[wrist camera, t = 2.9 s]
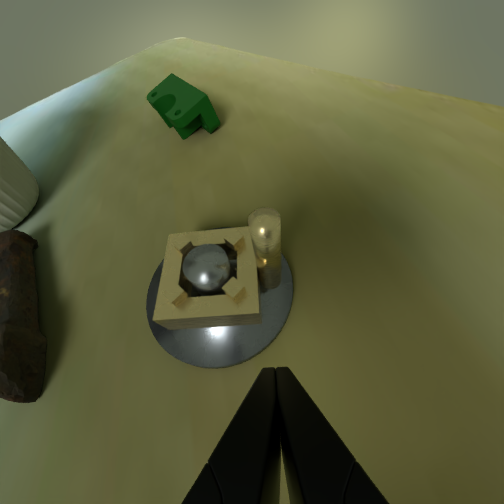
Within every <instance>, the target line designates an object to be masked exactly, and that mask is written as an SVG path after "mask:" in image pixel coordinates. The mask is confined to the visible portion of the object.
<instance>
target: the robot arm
mask: <svg viewBox="0 0 504 504" xmlns="http://www.w3.org/2000/svg"><path fill="white" fill-rule="evenodd" d="M280 438H281V440H280ZM281 449H282V457H283V463H284V469H285V475H286V481H287V487H288V493H289V499H290V504H389V503H388V501H387V500H386V499H385V497H384V496H383V495H382V493H381V492H380V491H379V490H378V488H377V487H376V486H375V484H374V483H373V482H372V480H371V479H370V478H369V476H368V475H367V474H366V472H365V471H364V470H363V468H362V467H361V465H360V464H359V463H358V462H356V459H355V458H354V456H353V455H352V453H351V452H350V451H349V449H348V448H347V447H346V445H345V444H344V442H343V441H342V440H341V438H340V437H339V436H338V434H337V433H336V432H335V430H334V429H333V427H332V426H331V425H330V423H329V422H328V421H327V419H326V418H325V416H324V415H323V414H322V412H321V411H320V410H319V408H318V407H317V406H316V404H315V403H314V401H313V400H312V399H311V397H310V396H309V395H308V393H307V392H306V391H305V389H304V388H303V386H302V385H301V384H300V382H299V381H298V380H297V378H296V377H295V375H294V374H293V373H292V371H291V370H290V369H289V368H288V367H277V368H276V370H275V368H274V367H269V368H263V369H262V370H261V372H260V373H259V375H258V377H257V378H256V380H255V382H254V383H253V385H252V387H251V388H250V390H249V392H248V393H247V395H246V397H245V399H244V400H243V402H242V404H241V405H240V407H239V409H238V410H237V412H236V414H235V415H234V417H233V419H232V421H231V422H230V424H229V426H228V427H227V429H226V431H225V432H224V434H223V436H222V437H221V439H220V441H219V442H218V444H217V446H216V448H215V449H214V451H213V453H212V454H211V456H210V458H209V459H208V463H206V464H205V466H204V468H203V469H202V471H201V473H200V474H199V476H198V478H197V479H196V481H195V483H194V484H193V486H192V487H191V489H190V491H189V492H188V494H187V495H186V497H185V499H184V500H183V502H182V503H181V504H279V498H280V471H281Z"/></svg>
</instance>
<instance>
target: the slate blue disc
mask: <svg viewBox="0 0 504 504" xmlns="http://www.w3.org/2000/svg"><path fill="white" fill-rule="evenodd" d="M226 228H235V227H222V228H215V229H210V230H216V229H226ZM163 263H164V259H163V260H162V262H161V263H160V265H159V266H158V268H157V270H156V271H155V273H154V275H153V278H152V280H151V282H150V286H149V289H148V294H147V305H146V310H147V318H148V322H149V325H150V328H151V330H152V333H153V335H154V337H155V338H156V340H157V341H158V343H159V344H160V345H161V346H162V347H163V348H164V349H165V350H166V351H167V352H168V353H169V354H171V355H172V356H173V357H175V358H177V359H179V360H181V361H182V362H185V363H188V364H191V365H194V366H197V367H202V368H216V369H218V368H226V367H231V366H235V365H238V364H241V363H243V362H246V361H248V360H250V359H252V358H253V357H255V356H257V355H258V354H260V353H261V352H262V351H263V350H265V349H266V348H267V347H268V346H269V345H270V344H271V343H272V342H273V341H274V340H275V339H276V337H277V336H278V335H279V333H280V332H281V330H282V328H283V327H284V325H285V323H286V321H287V318H288V315H289V313H290V309H291V304H292V295H293V282H292V276H291V271H290V268H289V266H288V263H287V261H286V259H285V257H284V256H283V254H282V253H281V274H282V280H281V284H280V285H279V286H278V287H277V288H275V289H266V288H264V287H263V286H262V285H261V283H260V293H261V311H262V324H254V325H239V326H224V327H209V328H194V329H178V330H168V329H166V328H165V327H163V326H161V325H160V324H158V323H156V322H154V321H153V315H154V310H155V305H156V300H157V294H158V289H159V284H160V279H161V274H162V268H163ZM183 272H184V275H185V276H186V278H187V279H188V280H189V281H190V283H191V284H192V291H191V297H201V296H214V295H226V294H225V293H224V291H223V290H222V287H223V286H224V285H225V284H226V283H227V282H228V281H229V280H230V279H231V278H232V277H234V278H235V279H237V260H228V257H227V255H226V253H225V251H224V250H223V249H222V248H221V247H220V246H218V245H215V244H203V245H199V246H197V247H195V248H194V249H192V250H191V251H190V252H189V253H188V254H187V256H186V257H185V259H184V262H183Z"/></svg>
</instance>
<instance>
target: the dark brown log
mask: <svg viewBox="0 0 504 504" xmlns="http://www.w3.org/2000/svg"><path fill="white" fill-rule="evenodd" d="M37 247H38V242H37V240H35V239H33V238H32V237H31V236H29V235H28V234H26V233H24V232H20V231H18V230H7V231H3V232H0V398H3V399H5V400H8V401H13V402H18V403H30V402H36V400H37V399H38V397H39V394H40V392H41V389H42V384H43V378H44V373H45V363H46V361H45V356H46V346H47V339H46V337H45V336H44V335H42V334H41V333H40V330H39V322H38V296H37V292H36V284H35V277H36V275H35V266H34V259H33V253H32V251H33V250H34V249H36V248H37Z"/></svg>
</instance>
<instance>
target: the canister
mask: <svg viewBox="0 0 504 504" xmlns="http://www.w3.org/2000/svg"><path fill="white" fill-rule="evenodd" d="M38 196H39V187H38V183H37V181H36V179H35V177H34V175H33V174H32V173H31V171H30V170H29V169H28V168H27V166H26V165H25V164H24V163H23V162H22V161H21V159H20V158H19V157H18V156H17V155H16V154H15V153H14V151H13V150H12V149H11V148H10V147H9V146H8V145H7V144H6V142H5V141H4V140H3V139H2V138H1V137H0V232H3V231H7V230H11V229H12V228H13V227H14V226H16V225H18V223H19V222H21V221H22V220H23V219H24V218H25V217H26V216H27V215H28V214H29V212H31V211H32V208H33V207H34V206H35V205H36V202H37V201H38Z"/></svg>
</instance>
